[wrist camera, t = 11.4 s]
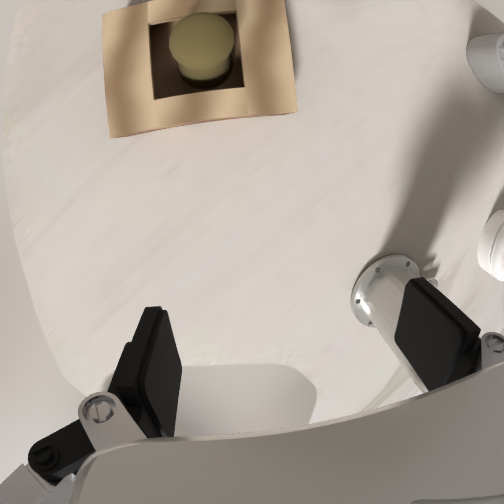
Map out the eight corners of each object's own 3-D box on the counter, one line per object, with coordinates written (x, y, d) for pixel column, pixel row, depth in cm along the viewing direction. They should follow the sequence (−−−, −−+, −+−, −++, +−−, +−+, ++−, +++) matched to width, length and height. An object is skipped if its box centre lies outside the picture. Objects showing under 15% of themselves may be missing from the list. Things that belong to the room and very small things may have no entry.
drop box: (271, 9, 25) (282, -12, 20) (283, 114, 31) (297, 111, 25) (119, 30, 24) (102, 14, 18) (127, 136, 30) (110, 138, 24)
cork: (168, 57, 26) (147, 26, 16) (216, 32, 25) (217, -9, 15) (194, 99, 28) (183, 83, 18) (242, 73, 28) (256, 46, 18)
